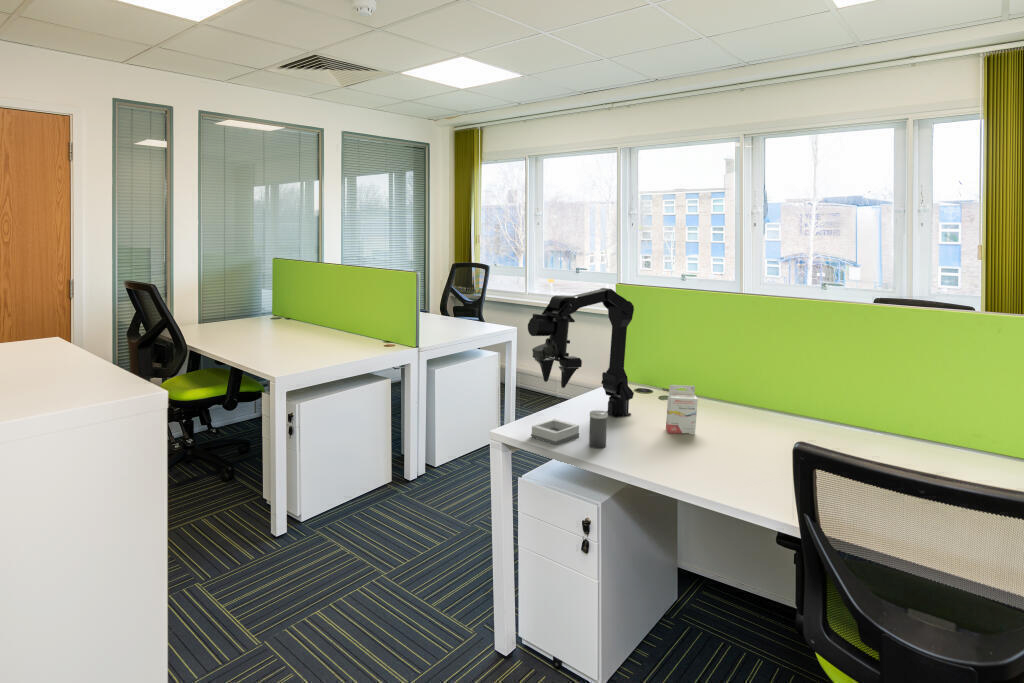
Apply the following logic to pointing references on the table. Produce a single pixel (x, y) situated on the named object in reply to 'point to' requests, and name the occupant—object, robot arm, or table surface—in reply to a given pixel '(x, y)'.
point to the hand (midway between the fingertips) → (554, 384)
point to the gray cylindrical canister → (598, 429)
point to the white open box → (555, 431)
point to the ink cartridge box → (681, 409)
